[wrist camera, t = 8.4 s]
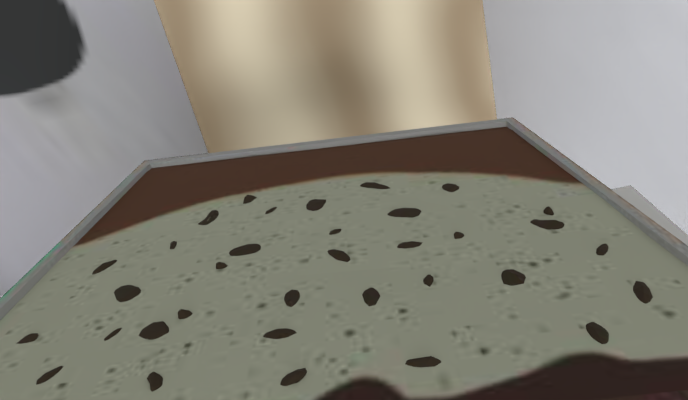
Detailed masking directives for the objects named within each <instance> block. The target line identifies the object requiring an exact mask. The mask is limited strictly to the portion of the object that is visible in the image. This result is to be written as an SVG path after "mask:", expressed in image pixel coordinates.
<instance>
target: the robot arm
mask: <svg viewBox="0 0 688 400" xmlns="http://www.w3.org/2000/svg"><path fill="white" fill-rule="evenodd" d="M611 190H612V191H614V192H615V193H616V194H618V195H619V196H621V197H622V198H623V199H625V200H626V201H627V202H629V203H630V204H631V205H633V206H634V207H636V208H637V209H638V210H640V211H641V212H642V213H644V214H645V215H646V216H648V217H649V218H651V219H652V220H653V221H655V222H656V223H657V224H659V225H660V226H661V227H663V228H664V229H666V230H667V231H668V232H670V233H671V234H672V235H674V236H675V237H676V238H678V239H679V240H681V241H682V242H683V243H685V244H686V245H687V246H688V235H687V234H686V233H685V232H683V231H682V230H681V229H680V228H679V227H678V226H677V225H675V224H674V223H673V222H672V221H671V220H670V219H669V218H667V217H666V216H665V215H664V214H663V213H662V212H661V211H659V210H658V209H657V208H656V207H655V206H654V205H653V204H651V203H650V202H649V201H648V200H647V199H646V198H645V197H643V196H642V195H641V194H640V193H639V192H638V191H637V190H635V189H634V188H633V187H632V186H631V185H630V186H625V187H620V188H616V189H611Z"/></svg>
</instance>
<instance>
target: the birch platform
mask: <svg viewBox="0 0 688 400" xmlns="http://www.w3.org/2000/svg"><path fill="white" fill-rule="evenodd" d="M154 2H155V5H156V8H157V10H158V13H159V16H160V19H161V22H162V24H163V27H164V30H165V33H166V36H167V38H168V41H169V44H170V47H171V50H172V52H173V55H174V58H175V61H176V64H177V66H178V69H179V72H180V75H181V77H182V80H183V83H184V86H185V89H186V91H187V94H188V97H189V100H190V103H191V105H192V108H193V111H194V114H195V117H196V119H197V122H198V125H199V128H200V131H201V133H202V136H203V139H204V142H205V145H206V147H207V150H208V153H215V152H223V151H232V150H240V149H249V148H257V147H266V146H274V145H283V144H291V143H300V142H308V141H317V140H326V139H334V138H343V137H351V136H360V135H368V134H377V133H385V132H394V131H402V130H411V129H419V128H428V127H436V126H445V125H453V124H462V123H470V122H479V121H487V120H496V119H497V117H496V109H495V100H494V92H493V84H492V76H491V68H490V59H489V51H488V43H487V35H486V26H485V18H484V10H483V2H482V0H154Z"/></svg>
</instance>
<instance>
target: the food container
mask: <svg viewBox="0 0 688 400" xmlns="http://www.w3.org/2000/svg"><path fill="white" fill-rule="evenodd" d="M0 400H688V246H687V245H686V244H685V243H683V242H682V241H681V240H679V239H678V238H676V237H675V236H674V235H672V234H671V233H670V232H668V231H667V230H666V229H664V228H663V227H661V226H660V225H659V224H657V223H656V222H655V221H653V220H652V219H651V218H649V217H648V216H646V215H645V214H644V213H642V212H641V211H640V210H638V209H637V208H636V207H634V206H633V205H631V204H630V203H629V202H627V201H626V200H625V199H623V198H622V197H621V196H619V195H618V194H616V193H615V192H614V191H612V190H611V189H610V188H608V187H607V186H606V185H604V184H603V183H601V182H600V181H599V180H597V179H596V178H595V177H593V176H592V175H591V174H589V173H588V172H586V171H585V170H584V169H582V168H581V167H580V166H578V165H577V164H576V163H574V162H573V161H571V160H570V159H569V158H567V157H566V156H565V155H563V154H562V153H561V152H559V151H558V150H556V149H555V148H554V147H552V146H551V145H550V144H548V143H547V142H546V141H544V140H543V139H541V138H540V137H539V136H537V135H536V134H535V133H533V132H532V131H531V130H529V129H528V128H526V127H525V126H524V125H522V124H521V123H520V122H518V121H517V120H516V119H514V118H505V119H496V120H487V121H479V122H470V123H462V124H453V125H445V126H436V127H428V128H419V129H411V130H402V131H394V132H385V133H377V134H368V135H360V136H351V137H343V138H334V139H326V140H317V141H308V142H300V143H291V144H283V145H274V146H266V147H257V148H249V149H240V150H232V151H223V152H215V153H206V154H198V155H189V156H181V157H172V158H164V159H155V160H147V161H144V162H143V163H142V164H141V165H139V166H138V167H137V168H136V169H135V170H134V171H133V172H132V173H131V174H130V175H129V176H128V177H127V178H126V179H125V180H124V181H123V182H122V183H121V184H120V185H119V186H118V187H116V188H115V189H114V190H113V191H112V192H111V193H110V194H109V195H108V196H107V197H106V198H105V199H104V200H103V201H102V202H101V203H100V204H99V205H98V206H97V207H96V208H95V209H94V210H92V211H91V212H90V213H89V214H88V215H87V216H86V217H85V218H84V219H83V220H82V221H81V222H80V223H79V224H78V225H77V226H76V227H75V228H74V229H73V230H72V231H71V232H70V233H68V234H67V235H66V236H65V237H64V238H63V239H62V240H61V241H60V242H59V243H58V244H57V245H56V246H55V247H54V248H53V249H52V250H51V251H50V252H49V253H48V254H47V255H46V256H44V257H43V258H42V259H41V260H40V261H39V262H38V263H37V264H36V265H35V266H34V267H33V268H32V269H31V270H30V271H29V272H28V273H27V274H26V275H25V276H24V277H23V278H21V279H20V280H19V281H18V282H17V283H16V284H15V285H14V286H13V287H12V288H11V289H10V290H9V291H8V292H7V293H6V294H5V295H4V296H3V297H2V298H1V299H0Z"/></svg>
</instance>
